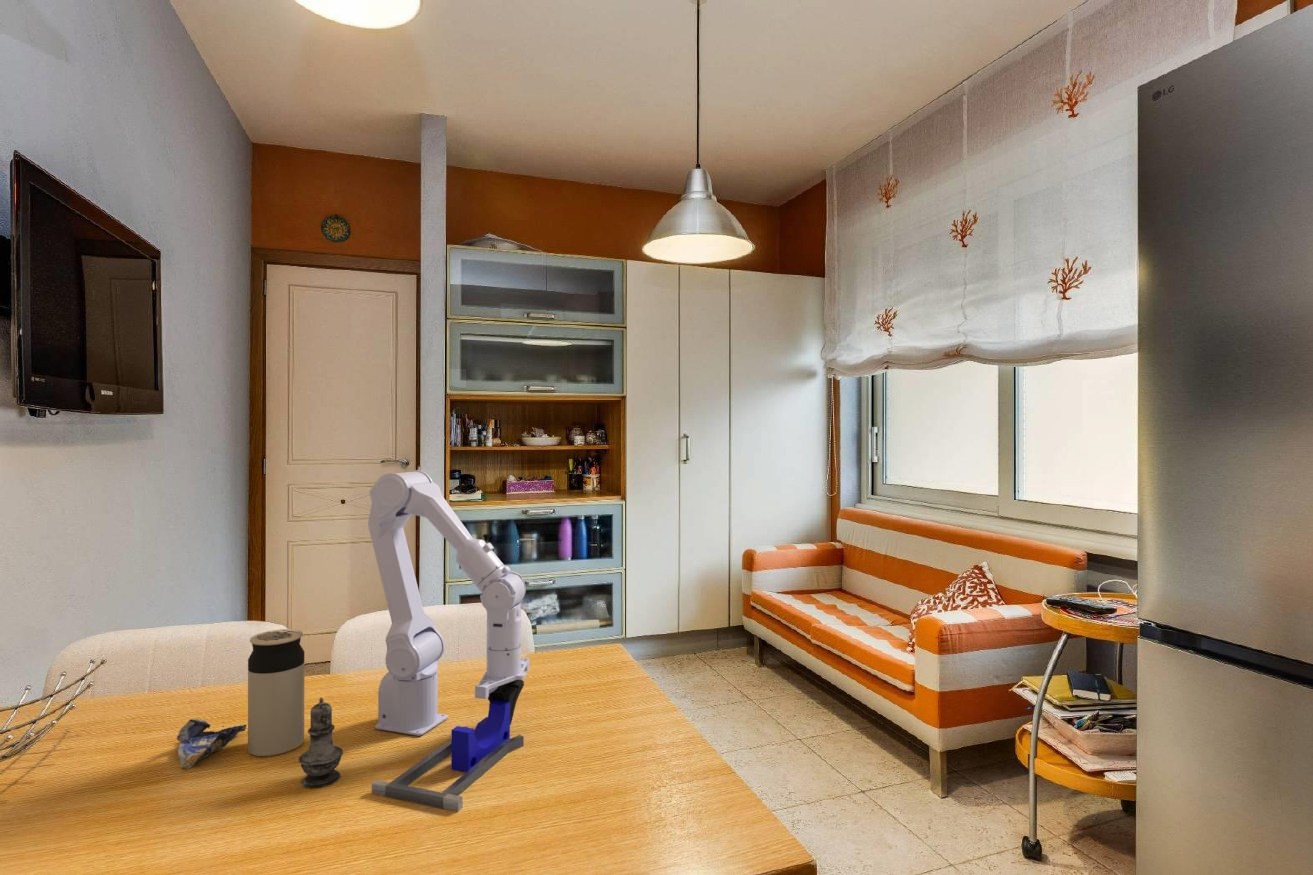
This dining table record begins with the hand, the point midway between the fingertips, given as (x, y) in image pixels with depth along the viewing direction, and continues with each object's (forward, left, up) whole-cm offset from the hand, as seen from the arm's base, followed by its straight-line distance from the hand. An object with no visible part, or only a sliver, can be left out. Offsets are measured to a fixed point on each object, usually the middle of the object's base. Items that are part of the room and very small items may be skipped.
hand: (503, 725), depth 115 cm
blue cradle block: (0, -8, -1) cm, 8 cm away
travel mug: (-32, -16, -1) cm, 36 cm away
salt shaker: (-17, -22, -1) cm, 28 cm away
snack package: (-42, -21, -2) cm, 47 cm away
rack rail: (0, -13, -1) cm, 13 cm away
